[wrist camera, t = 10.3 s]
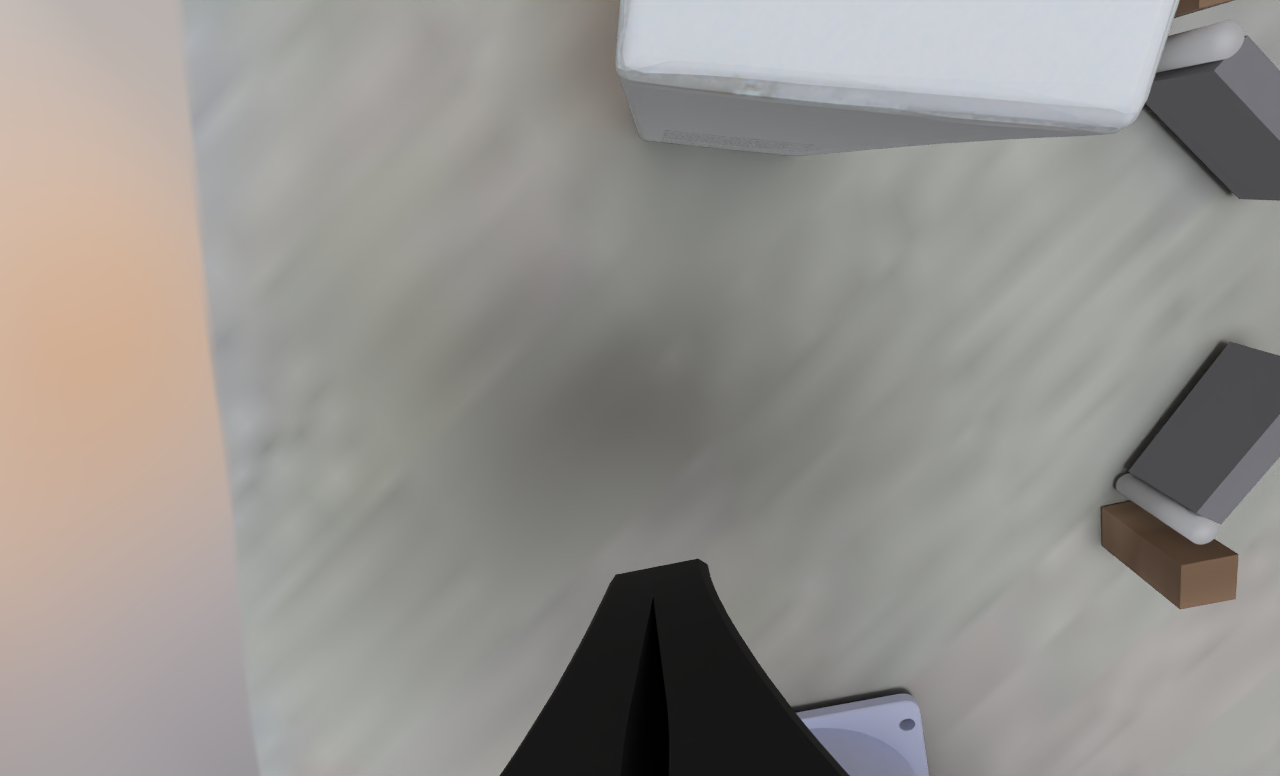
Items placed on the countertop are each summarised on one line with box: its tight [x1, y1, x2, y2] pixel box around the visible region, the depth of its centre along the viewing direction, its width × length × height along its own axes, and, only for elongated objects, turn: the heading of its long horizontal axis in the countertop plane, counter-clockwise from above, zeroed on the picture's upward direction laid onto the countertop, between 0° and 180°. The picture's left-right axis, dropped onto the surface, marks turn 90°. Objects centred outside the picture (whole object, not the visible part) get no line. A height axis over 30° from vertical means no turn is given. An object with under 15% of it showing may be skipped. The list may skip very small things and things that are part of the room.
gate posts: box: [1102, 0, 1238, 609], centre depth 16 cm, size 16×1×3 cm, turn 14°
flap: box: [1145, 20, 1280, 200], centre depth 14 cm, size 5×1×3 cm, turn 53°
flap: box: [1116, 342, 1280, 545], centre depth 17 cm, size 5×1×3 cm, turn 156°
